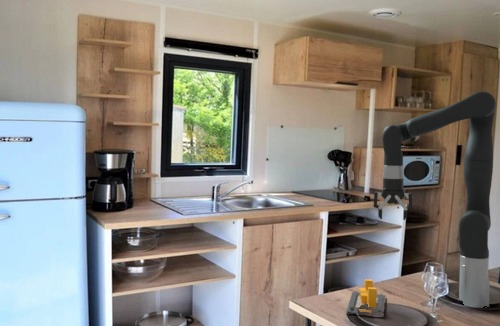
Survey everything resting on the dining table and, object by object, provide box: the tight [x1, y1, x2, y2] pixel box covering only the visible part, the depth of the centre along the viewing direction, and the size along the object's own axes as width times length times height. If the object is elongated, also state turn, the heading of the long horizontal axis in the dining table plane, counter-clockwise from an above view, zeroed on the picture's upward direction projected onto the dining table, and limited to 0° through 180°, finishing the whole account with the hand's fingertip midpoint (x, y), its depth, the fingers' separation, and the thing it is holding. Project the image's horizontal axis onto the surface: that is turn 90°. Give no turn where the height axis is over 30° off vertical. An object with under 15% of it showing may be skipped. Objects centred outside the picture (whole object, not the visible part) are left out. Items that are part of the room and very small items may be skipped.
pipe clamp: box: [359, 278, 378, 308], centre depth 165 cm, size 12×4×6 cm, turn 173°
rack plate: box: [346, 290, 386, 314], centre depth 164 cm, size 12×22×2 cm, turn 163°
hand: (392, 219), depth 180 cm, fingers open, 8 cm apart
